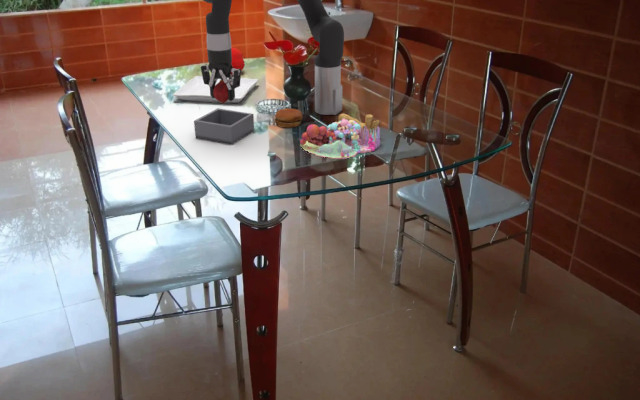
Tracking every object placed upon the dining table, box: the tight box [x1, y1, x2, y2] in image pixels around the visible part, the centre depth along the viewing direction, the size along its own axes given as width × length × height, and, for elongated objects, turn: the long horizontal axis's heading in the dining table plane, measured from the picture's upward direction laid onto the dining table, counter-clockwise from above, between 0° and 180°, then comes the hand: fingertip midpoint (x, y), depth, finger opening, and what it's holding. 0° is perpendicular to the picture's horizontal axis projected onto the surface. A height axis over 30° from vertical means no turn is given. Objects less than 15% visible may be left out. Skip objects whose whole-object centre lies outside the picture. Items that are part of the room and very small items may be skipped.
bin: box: [193, 107, 255, 146], centre depth 212 cm, size 14×14×6 cm
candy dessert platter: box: [299, 112, 381, 160], centre depth 203 cm, size 25×24×9 cm
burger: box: [273, 107, 303, 129], centre depth 222 cm, size 10×10×5 cm
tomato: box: [231, 46, 246, 76], centre depth 277 cm, size 13×13×13 cm
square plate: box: [172, 75, 260, 104], centre depth 252 cm, size 27×27×4 cm
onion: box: [213, 79, 228, 104], centre depth 206 cm, size 6×6×8 cm
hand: (222, 98), depth 208 cm, fingers closed on onion, 6 cm apart
